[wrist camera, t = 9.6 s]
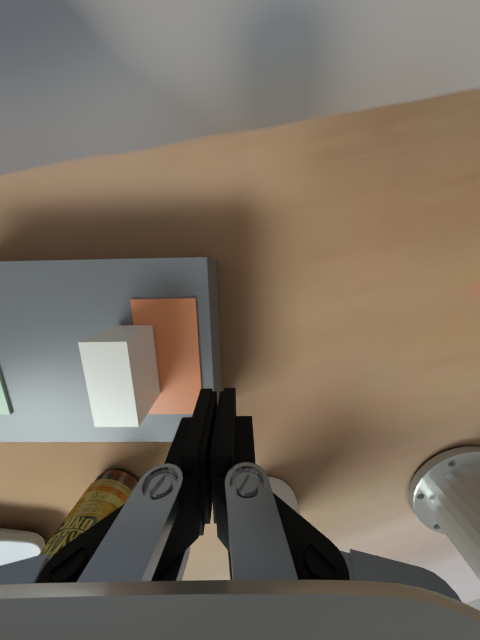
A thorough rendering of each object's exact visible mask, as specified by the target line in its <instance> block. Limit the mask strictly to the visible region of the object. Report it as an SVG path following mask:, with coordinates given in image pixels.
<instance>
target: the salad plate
mask: <svg viewBox="0 0 480 640" xmlns="http://www.w3.org/2000/svg"><path fill="white" fill-rule="evenodd" d="M44 547H45V541H44V539H43V538H42V536H40V535H39V534H37V533H34V532H29V531H21V530H14V529H5V528H0V566H1V565H5V564H9V563H12V562H16V561H20V560H23V559H27V558H31V557H35V556H38V555H39V554H40V552H41V551H42V550H43V548H44Z"/></svg>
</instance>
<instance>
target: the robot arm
mask: <svg viewBox="0 0 480 640" xmlns="http://www.w3.org/2000/svg"><path fill="white" fill-rule="evenodd" d="M212 502H213V514H214V523H217V536H218V538H219V539H220V541H221V542H222V543H223V544H224V546H225V547H226V548H227V550H228V560H229V572H230V580H206V581H182V578H183V574H184V571H185V567H186V564H187V561H188V557H189V552H190V545H191V544H192V543H193V542H194V541H195V540H196V539H197V538H198V537H199V535H203V533H204V525H205V524H210V519H211V511H212ZM409 502H410V506H411V508H412V510H413V511H414V513H415V514H416V516H417V517H418V519H419V520H420V521H421V522H422V523H423V524H424V525H425V526H426V527H428V528H430V529H431V530H433V531H436V532H439V533H442V534H446V535H447V537H448V538H449V539H450V541H451V542H452V543H453V545H454V546H455V547H456V549H457V550H458V551H459V553H460V554H461V555H462V557H463V558H464V559H465V561H466V562H467V563H468V565H469V566H470V567H471V569H472V570H473V571H474V573H475V574H476V576H477V577H478V578H479V580H480V447H460V448H454V449H451V450H448V451H445V452H443V453H441V454H438V455H436V456H435V457H433V458H432V459H430V460H429V461H427V462H426V463H425V464H424V465H423V466H422V467H421V468H420V469H419V470H418V471H417V473H416V474H415V475H414V477H413V479H412V481H411V484H410V488H409ZM0 640H480V611H479V610H477V609H475V608H473V607H471V606H469V605H467V604H465V603H463V602H462V601H461V600H460V598H459V597H458V595H457V594H456V592H455V591H454V590H453V589H452V588H451V587H450V586H449V585H448V584H447V583H446V582H445V581H444V580H443V579H441V578H440V577H439V576H437V575H436V574H435V573H433V572H431V571H429V570H427V569H424V568H422V567H418V566H414V565H410V564H406V563H402V562H399V561H395V560H391V559H387V558H383V557H379V556H375V555H372V554H368V553H364V552H360V551H356V550H352V549H350V553H347V552H343V551H339V549H338V548H337V547H336V546H335V545H334V544H333V543H332V542H331V541H330V540H329V539H328V538H326V537H325V536H324V535H323V534H322V533H321V532H319V531H318V530H317V529H316V528H315V527H314V526H312V525H311V524H310V523H309V522H308V521H306V520H305V519H304V518H303V517H302V516H301V515H299V514H298V513H297V512H296V511H295V510H293V509H292V508H291V507H290V506H289V505H288V504H286V503H285V502H284V501H283V500H282V499H280V498H279V497H278V496H277V495H276V494H275V493H273V492H272V489H271V485H270V482H269V478H268V476H267V474H266V472H265V471H264V470H263V469H262V468H261V467H260V466H258V465H257V464H255V452H254V439H253V425H252V416H236V390H235V388H224V391H220V393H219V400H218V405H217V391H213V389H212V388H205V389H201V390H200V393H199V396H198V399H197V402H196V406H195V409H194V412H193V415H192V417H183V418H182V419H181V421H180V424H179V426H178V429H177V432H176V434H175V437H174V440H173V442H172V445H171V448H170V450H169V453H168V456H167V458H166V461H165V464H161V465H157V466H155V467H153V468H151V469H150V470H149V471H147V472H146V473H145V474H144V475H143V476H142V478H141V479H140V480H139V482H138V484H137V485H136V487H135V488H134V490H133V492H132V493H131V495H130V497H129V498H128V500H127V501H126V503H125V504H123V505H122V506H120V507H119V508H118V509H116V510H115V511H113V512H112V513H110V514H109V515H108V516H106V517H105V518H103V519H102V520H100V521H99V522H98V523H96V524H95V525H93V526H92V527H90V528H89V529H88V530H86V531H85V532H83V533H82V534H80V535H79V536H78V537H76V538H75V539H73V540H72V541H70V542H69V543H68V544H66V545H65V546H64V547H62V548H61V549H60V550H59V551H58V552H56V553H55V554H54V555H53V556H52V557H48V554H47V553H46V554H42V555H38V556H35V557H31V558H27V559H23V560H20V561H16V562H12V563H9V564H5V565H1V566H0Z"/></svg>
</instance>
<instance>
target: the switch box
mask: <svg viewBox="0 0 480 640" xmlns="http://www.w3.org/2000/svg"><path fill="white" fill-rule="evenodd" d="M114 325H153V333H154V342H155V351H156V360H157V369H158V378H159V386H160V395H159V397H158V398H157V400H156V401H155V403H154V405H153V406H152V408H151V409H150V411H149V412H148V414H147V415H146V417H145V418H144V420H143V421H142V423H141V424H140V426H139V427H94V422H93V416H92V411H91V406H90V401H89V396H88V391H87V386H86V381H85V376H84V371H83V365H82V360H81V355H80V350H79V345H78V342H80V341H82V340H84V339H86V338H88V337H90V336H93V335H95V334H97V333H99V332H101V331H103V330H106V329H108V328H110V327H112V326H114ZM205 388H212V389H213V391H217V405H218V400H219V393H220V391H222V375H221V351H220V327H219V303H218V279H217V259H214V258H209V257H185V258H138V259H90V260H42V261H0V442H173V440H174V437H175V434H176V432H177V429H178V426H179V424H180V421H181V419H182V418H183V417H192V415H193V412H194V409H195V406H196V402H197V399H198V396H199V393H200V390H201V389H205Z"/></svg>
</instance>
